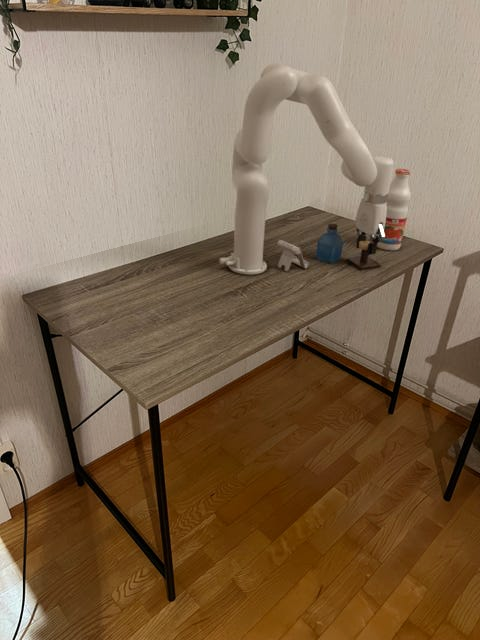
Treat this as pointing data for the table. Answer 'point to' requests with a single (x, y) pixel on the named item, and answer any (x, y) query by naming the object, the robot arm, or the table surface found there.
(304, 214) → the table surface
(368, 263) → the stand
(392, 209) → the white yogurt drink bottle
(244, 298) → the table surface
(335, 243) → the perfume bottle
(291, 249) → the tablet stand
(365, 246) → the chip
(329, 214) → the table surface
